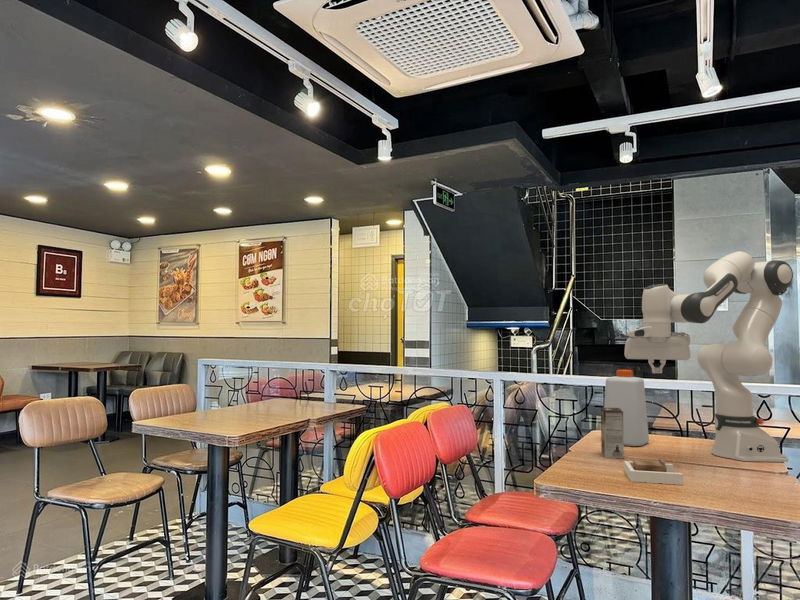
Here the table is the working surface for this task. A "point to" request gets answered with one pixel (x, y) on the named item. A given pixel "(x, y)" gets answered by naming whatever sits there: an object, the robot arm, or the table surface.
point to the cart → (649, 465)
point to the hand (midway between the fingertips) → (657, 373)
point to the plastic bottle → (629, 405)
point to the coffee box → (612, 433)
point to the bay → (653, 475)
